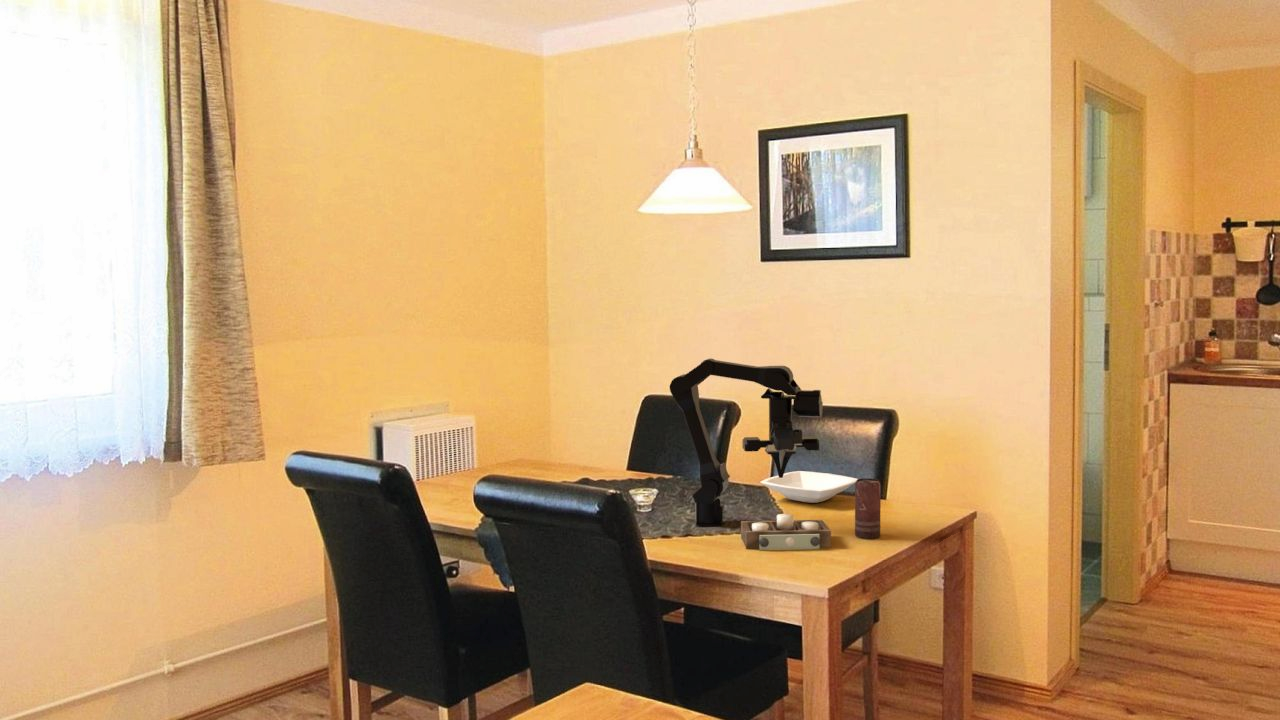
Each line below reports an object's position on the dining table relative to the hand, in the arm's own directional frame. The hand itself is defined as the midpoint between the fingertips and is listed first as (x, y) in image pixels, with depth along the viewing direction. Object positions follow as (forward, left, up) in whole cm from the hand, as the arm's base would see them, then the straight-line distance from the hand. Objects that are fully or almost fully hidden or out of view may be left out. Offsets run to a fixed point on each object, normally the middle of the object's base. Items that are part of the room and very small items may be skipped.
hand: (780, 477), depth 278 cm
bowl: (+13, +32, -13) cm, 37 cm away
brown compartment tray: (-1, -14, -13) cm, 19 cm away
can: (+20, -10, -13) cm, 26 cm away
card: (-1, -21, -13) cm, 24 cm away
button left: (-7, -14, -11) cm, 19 cm away
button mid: (-1, -14, -9) cm, 17 cm away
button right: (+5, -14, -12) cm, 19 cm away
